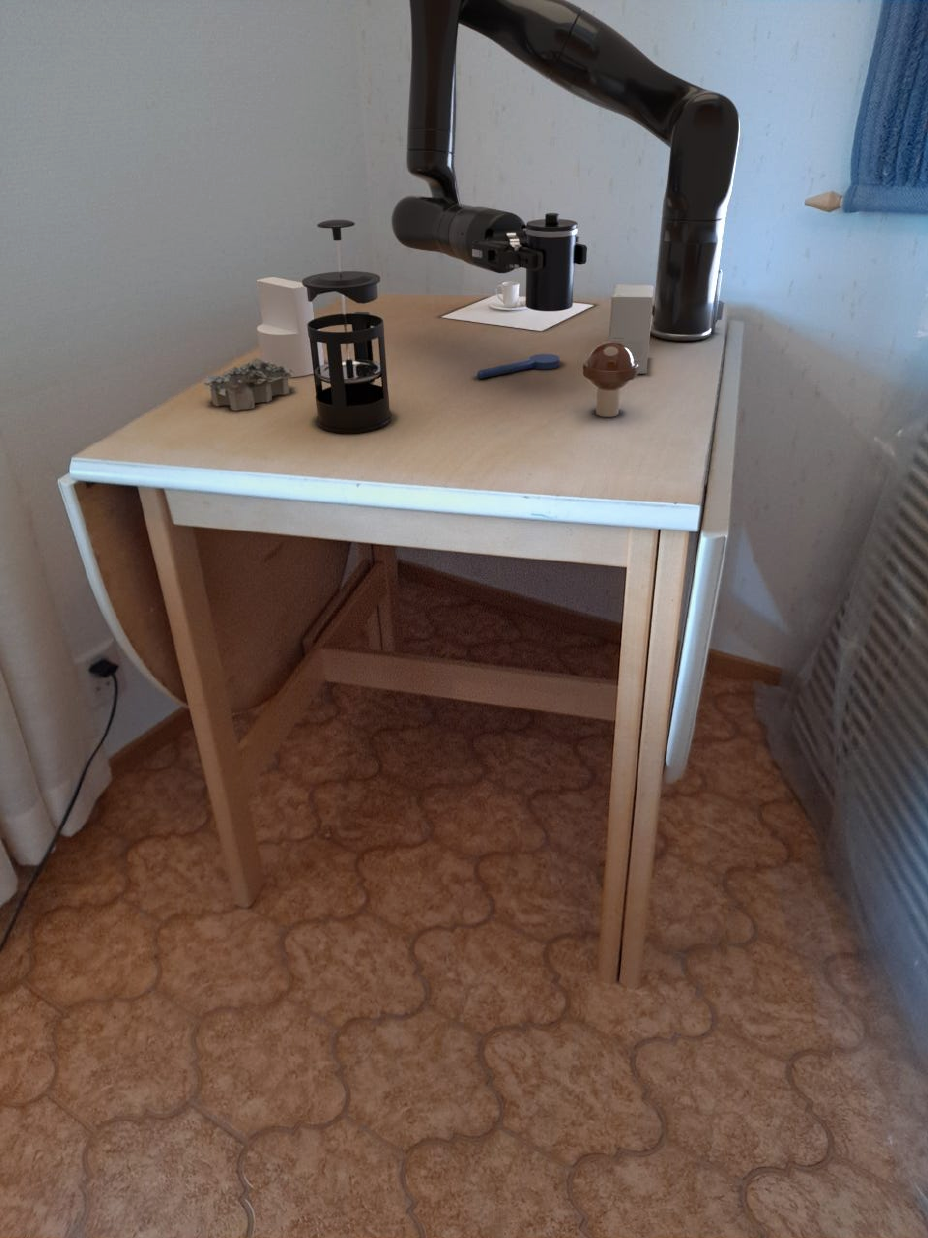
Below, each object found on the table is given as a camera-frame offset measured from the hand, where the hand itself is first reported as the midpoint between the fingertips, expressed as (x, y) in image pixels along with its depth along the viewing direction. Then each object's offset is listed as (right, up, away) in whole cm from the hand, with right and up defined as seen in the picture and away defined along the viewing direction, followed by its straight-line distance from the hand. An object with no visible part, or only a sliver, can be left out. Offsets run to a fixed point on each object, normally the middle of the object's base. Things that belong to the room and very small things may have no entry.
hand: (562, 258), depth 105 cm
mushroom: (+6, -18, +4) cm, 19 cm away
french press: (-26, -19, +4) cm, 32 cm away
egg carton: (-41, -14, +12) cm, 45 cm away
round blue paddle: (-4, -8, +19) cm, 21 cm away
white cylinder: (-37, -7, +23) cm, 44 cm away
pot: (-1, -4, +5) cm, 6 cm away
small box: (+12, -7, +20) cm, 24 cm away
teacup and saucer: (-2, +11, +48) cm, 50 cm away
